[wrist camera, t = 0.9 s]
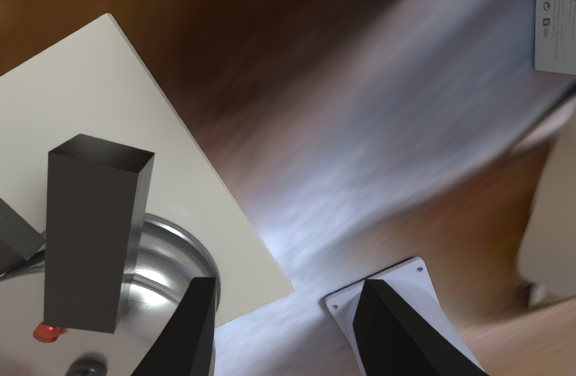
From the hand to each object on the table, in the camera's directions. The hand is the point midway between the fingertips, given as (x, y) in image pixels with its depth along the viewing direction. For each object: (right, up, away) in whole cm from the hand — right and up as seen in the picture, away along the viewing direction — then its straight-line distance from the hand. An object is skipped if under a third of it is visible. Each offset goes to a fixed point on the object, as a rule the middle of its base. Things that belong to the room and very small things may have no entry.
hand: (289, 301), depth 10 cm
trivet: (-12, 0, +10) cm, 15 cm away
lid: (-10, -4, +6) cm, 12 cm away
